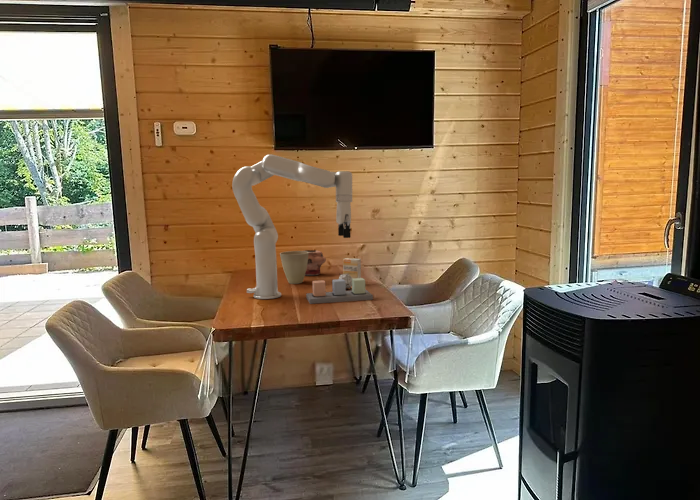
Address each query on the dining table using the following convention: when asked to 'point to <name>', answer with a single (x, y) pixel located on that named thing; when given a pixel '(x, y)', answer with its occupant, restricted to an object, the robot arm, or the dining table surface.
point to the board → (338, 297)
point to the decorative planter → (314, 262)
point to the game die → (346, 280)
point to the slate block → (339, 287)
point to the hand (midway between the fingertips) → (344, 236)
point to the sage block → (358, 285)
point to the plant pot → (294, 265)
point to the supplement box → (352, 267)
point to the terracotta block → (319, 288)
